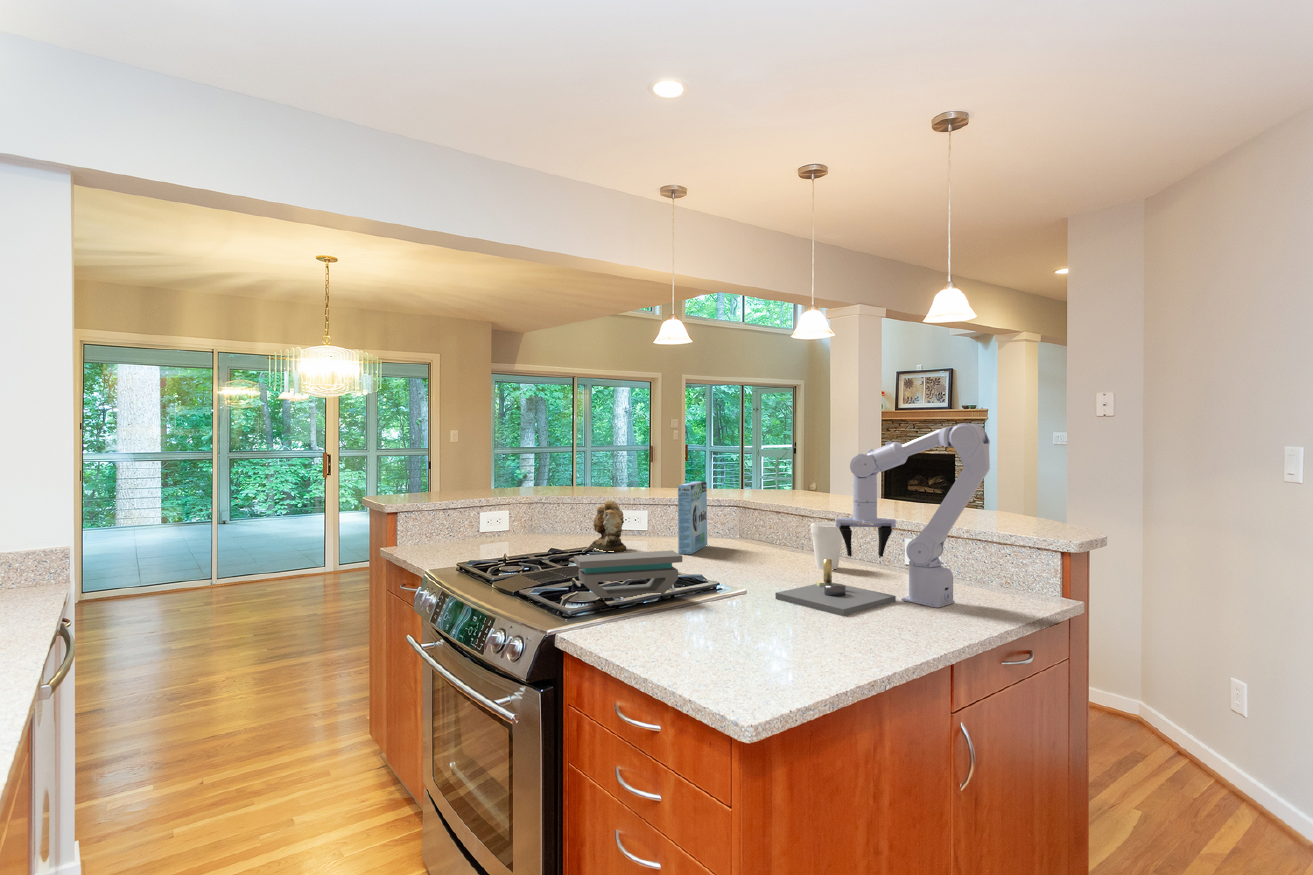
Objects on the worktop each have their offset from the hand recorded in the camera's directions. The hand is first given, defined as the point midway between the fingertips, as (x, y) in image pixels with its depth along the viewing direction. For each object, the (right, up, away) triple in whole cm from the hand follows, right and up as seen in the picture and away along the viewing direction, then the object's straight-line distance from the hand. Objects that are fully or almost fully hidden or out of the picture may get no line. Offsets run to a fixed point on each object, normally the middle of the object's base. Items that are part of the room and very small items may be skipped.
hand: (865, 555), depth 175 cm
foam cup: (-2, -9, +32) cm, 33 cm away
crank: (-9, -8, -5) cm, 13 cm away
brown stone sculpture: (-70, -9, +66) cm, 96 cm away
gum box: (-40, -9, +64) cm, 76 cm away
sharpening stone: (-59, -10, -7) cm, 60 cm away
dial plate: (-9, -10, -7) cm, 15 cm away
